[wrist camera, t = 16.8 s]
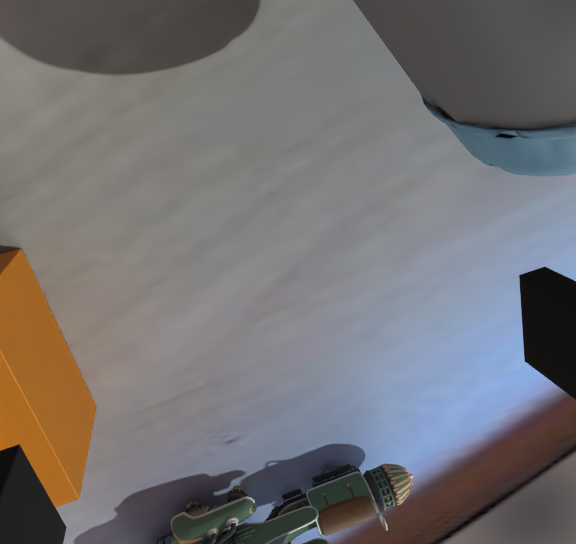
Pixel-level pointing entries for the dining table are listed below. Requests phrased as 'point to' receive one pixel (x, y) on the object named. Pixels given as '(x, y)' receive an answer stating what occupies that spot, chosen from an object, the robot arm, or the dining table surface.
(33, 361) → the orange striped block
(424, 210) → the dining table surface
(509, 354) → the dining table surface
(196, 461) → the dining table surface
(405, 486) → the hoverbike
